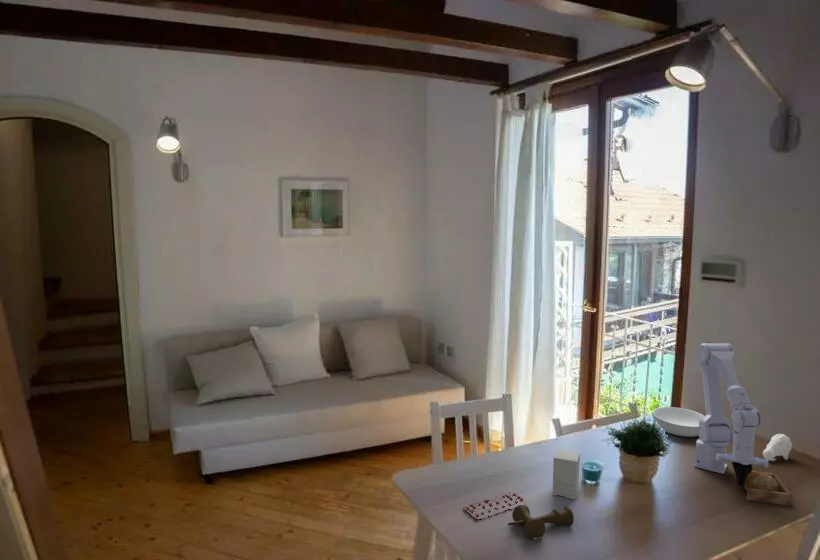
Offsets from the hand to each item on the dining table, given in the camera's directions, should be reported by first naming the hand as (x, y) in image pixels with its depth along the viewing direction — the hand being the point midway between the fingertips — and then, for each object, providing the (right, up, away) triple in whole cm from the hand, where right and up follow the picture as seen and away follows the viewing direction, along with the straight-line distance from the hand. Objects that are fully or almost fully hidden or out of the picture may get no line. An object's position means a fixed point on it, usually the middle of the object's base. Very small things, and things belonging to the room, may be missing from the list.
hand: (739, 484), depth 181 cm
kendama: (-71, -4, -23) cm, 75 cm away
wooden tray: (+6, -2, -2) cm, 7 cm away
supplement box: (-58, -2, -3) cm, 58 cm away
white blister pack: (-82, -3, -12) cm, 83 cm away
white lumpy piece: (+26, +1, +23) cm, 35 cm away
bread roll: (+6, -2, -1) cm, 6 cm away
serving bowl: (+3, +4, +46) cm, 46 cm away
